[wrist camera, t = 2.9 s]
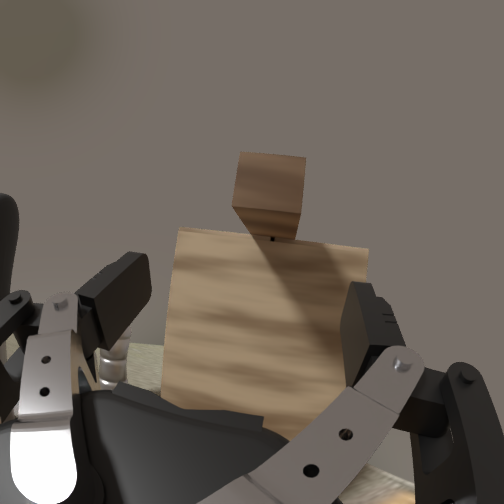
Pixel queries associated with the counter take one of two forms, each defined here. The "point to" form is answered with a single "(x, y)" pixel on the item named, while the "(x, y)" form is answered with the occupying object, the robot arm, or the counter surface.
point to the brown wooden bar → (269, 193)
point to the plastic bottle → (114, 362)
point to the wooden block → (257, 325)
